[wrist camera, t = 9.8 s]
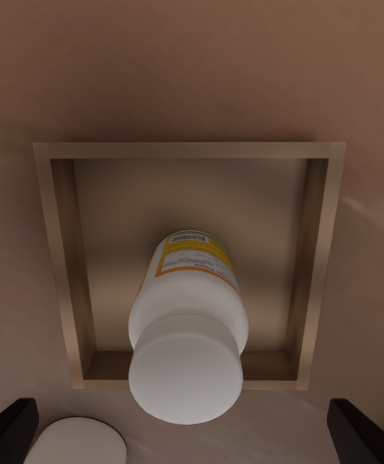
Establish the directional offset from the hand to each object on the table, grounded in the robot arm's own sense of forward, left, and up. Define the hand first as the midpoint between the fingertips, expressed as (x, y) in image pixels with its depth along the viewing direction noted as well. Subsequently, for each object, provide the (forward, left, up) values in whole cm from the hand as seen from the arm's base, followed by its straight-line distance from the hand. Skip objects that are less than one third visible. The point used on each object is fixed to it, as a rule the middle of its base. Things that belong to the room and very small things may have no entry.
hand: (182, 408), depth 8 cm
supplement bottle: (0, 0, -11) cm, 11 cm away
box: (0, 0, -12) cm, 12 cm away
